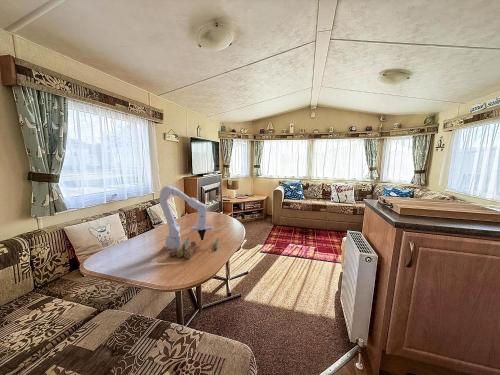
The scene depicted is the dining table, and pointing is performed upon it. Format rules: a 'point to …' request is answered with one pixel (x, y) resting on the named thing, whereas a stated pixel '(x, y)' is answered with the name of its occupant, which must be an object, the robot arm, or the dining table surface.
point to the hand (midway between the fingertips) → (202, 239)
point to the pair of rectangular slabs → (188, 244)
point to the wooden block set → (181, 251)
